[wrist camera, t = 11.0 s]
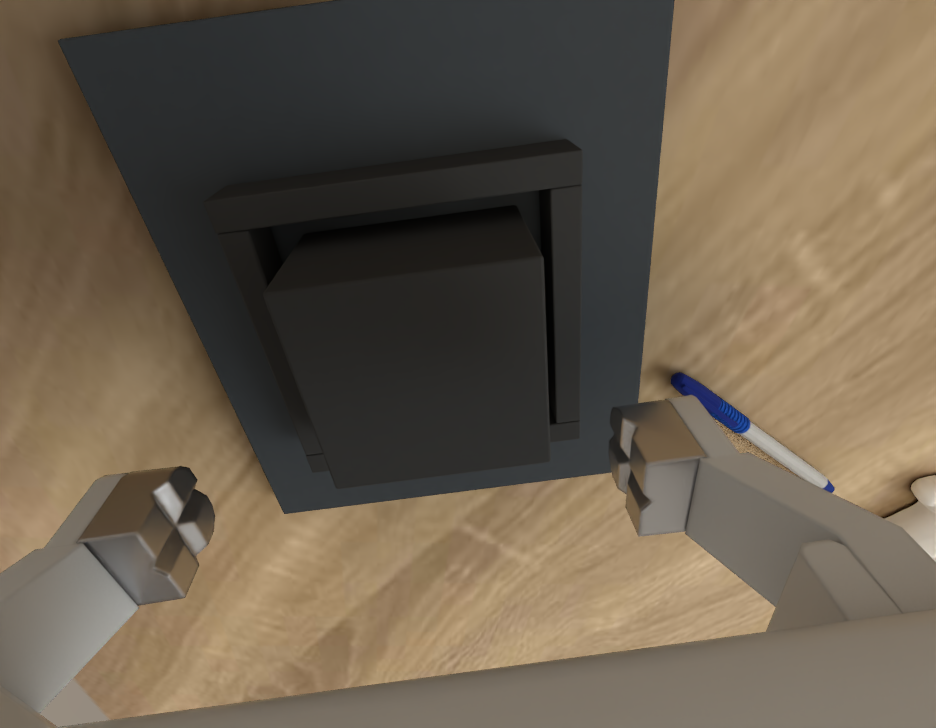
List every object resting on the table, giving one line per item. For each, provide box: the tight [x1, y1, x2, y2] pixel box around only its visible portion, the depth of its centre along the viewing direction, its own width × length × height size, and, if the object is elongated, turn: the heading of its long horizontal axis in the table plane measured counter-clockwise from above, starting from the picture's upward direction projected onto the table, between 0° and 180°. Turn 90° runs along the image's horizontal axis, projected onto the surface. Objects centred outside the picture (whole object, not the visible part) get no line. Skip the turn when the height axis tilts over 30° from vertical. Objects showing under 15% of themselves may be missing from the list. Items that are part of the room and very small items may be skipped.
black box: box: [263, 205, 551, 489], centre depth 14 cm, size 6×6×4 cm
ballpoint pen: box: [671, 372, 834, 493], centre depth 20 cm, size 10×1×1 cm, turn 55°
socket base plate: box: [58, 0, 674, 514], centre depth 15 cm, size 14×16×3 cm
